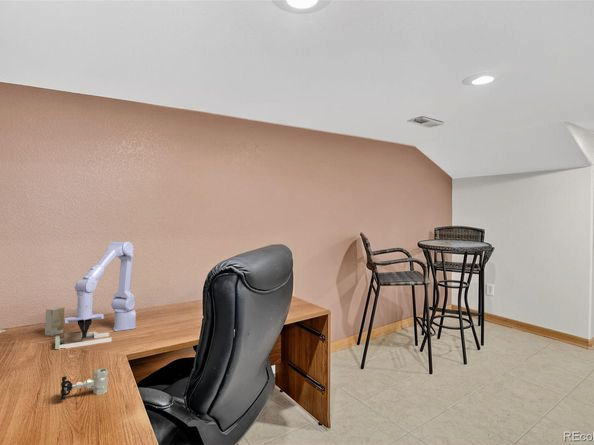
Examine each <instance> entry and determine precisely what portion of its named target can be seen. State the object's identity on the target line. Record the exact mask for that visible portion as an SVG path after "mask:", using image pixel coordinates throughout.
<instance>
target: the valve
mask: <svg viewBox="0 0 594 445" xmlns="http://www.w3.org/2000/svg"><path fill="white" fill-rule="evenodd" d="M108 375H109V369H107V368H106V367H105V368H104V367H102V368H98V369H96V370H94V371H93V378H91V377H89V378H86V380H85V381H84V382H83V381H78V382H77V381H76V383H74V384H73V382H71V381H70V380H68V379H67V378H68V377H67V376H61V383H60V387H61V390H60V401H64V400H66V397H67V396H68V395H70V393H71V391H73V389H76V390H78V389H82V388H86V390H89V389H90V390H91V388H92V389H93V391H92V392H93V394H94V395H96V396H98V395H102V394H105V393H107V391H108V386H109V385H108V383H109V376H108Z"/></svg>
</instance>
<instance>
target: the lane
mask: <svg viewBox="0 0 594 445" xmlns="http://www.w3.org/2000/svg"><path fill="white" fill-rule="evenodd" d="M93 338H94V339H93ZM112 338H113V337H110V332H102V333H98V331H90V332H88V331H87V334H86V338H82V332H81V340H84V341H81V342H77V343H70V344H64V338H61V337H60V335H55V340H54V344H55V345H54V346H55V347H54V350H55V349H59V350H61V349H60V348H66V349H70V348H77V347H84V346H90V345H97V344H104V343H110V342H112ZM86 339H90V340H86Z"/></svg>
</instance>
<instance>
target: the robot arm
mask: <svg viewBox="0 0 594 445" xmlns="http://www.w3.org/2000/svg"><path fill="white" fill-rule="evenodd" d="M134 246H135V245H133V244H132V242H130V241H111V242H109V244H108V246H106V252H105V253H104V254H103V256H102V257H101V259H100V260H99V261H98V263H97V264H94V265H93V266H91V267H90V268H89V270H88V272H86V273H85V275H84V276H83V277H82V278H81V279H79V280H77V281H76V283H75V285H74V291H76V295H77V307H76V308H77V309H76V316H70V317H69V316H68V317H64V324H69V323H75V322H76V323H77V325H78V327H79V330H80V331H81V333H82V338H86V334H87V333H88V330H89V329H90V326H91V325H92V322H93V320H104V318H105V316H104V315H105V314H104V313H99V314H98V313H97V314H96V313H94V314H93V307H94V306H93V305H94V303H93V302H94V299H93V298H94V291H95V290H97V286H98V284H99V283H98V282H99V281H100V279H101V277H102V276H103V275H104V274H105V269H106V267H107V266H108V265H109V264H110V263H111V262H112V261H113V260H114V259H115V258H118V259H119V260H120V265H119V266H120V268H119V278H118V285H117V286H118V288H117V292H115V293H114V295H113V297H112V300H111V304H110V305H111V308H112V309H113V312H114V326H112V330H113V331H114V332H120V331H126V330H127V331H128V330H134V329H136V323H137V322H136V321H137V320H136V319H137V313H136V309H134V308H135V305H136V301H135V294H133V293H132V292H131V284H132V283H131V282H132V273H133V272H132V271H133V263H134V248H135V247H134Z"/></svg>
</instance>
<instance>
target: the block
mask: <svg viewBox="0 0 594 445" xmlns="http://www.w3.org/2000/svg"><path fill="white" fill-rule="evenodd" d="M63 333H64V334H63V339H64V343H63V344H70V343H77V342H82V339H81V333H82V332H81V330H80V331H79V330H78V331H71V332H63Z"/></svg>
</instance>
